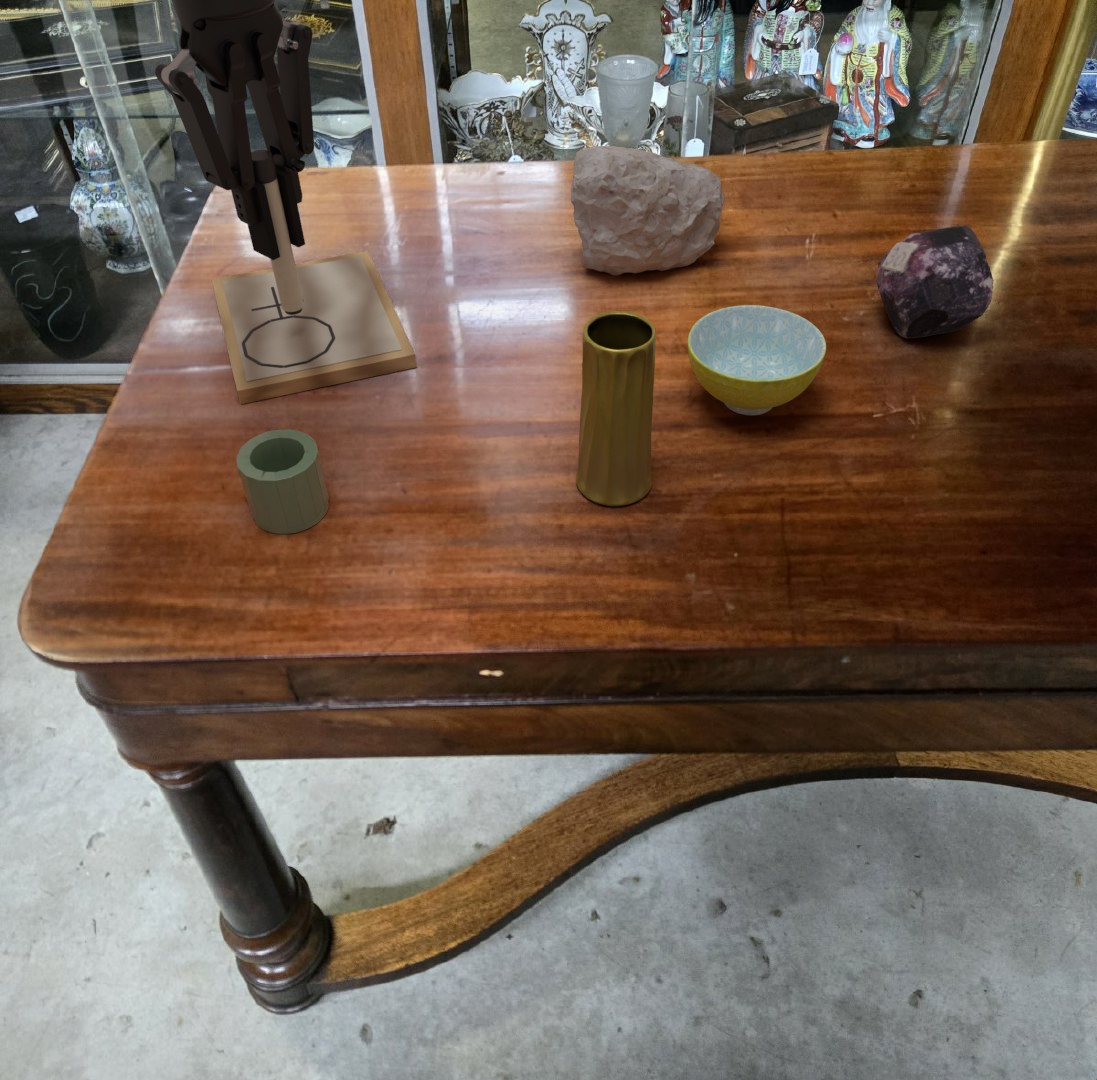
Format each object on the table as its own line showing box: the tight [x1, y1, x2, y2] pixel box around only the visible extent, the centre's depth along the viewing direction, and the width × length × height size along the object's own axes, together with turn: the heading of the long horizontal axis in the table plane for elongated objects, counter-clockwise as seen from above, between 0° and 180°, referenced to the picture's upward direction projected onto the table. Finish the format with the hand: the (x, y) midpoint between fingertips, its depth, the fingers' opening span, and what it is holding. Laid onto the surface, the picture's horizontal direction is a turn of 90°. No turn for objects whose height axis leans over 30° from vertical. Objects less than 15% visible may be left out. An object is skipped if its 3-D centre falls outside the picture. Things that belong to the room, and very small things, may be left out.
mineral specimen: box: [875, 224, 995, 339], centre depth 96 cm, size 10×10×10 cm
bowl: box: [687, 304, 827, 416], centre depth 89 cm, size 11×12×6 cm
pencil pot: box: [235, 429, 330, 535], centre depth 80 cm, size 6×6×6 cm
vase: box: [575, 310, 657, 507], centre depth 78 cm, size 6×6×14 cm
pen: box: [251, 149, 304, 315], centre depth 90 cm, size 2×2×15 cm
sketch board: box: [211, 250, 418, 405], centre depth 99 cm, size 16×20×2 cm
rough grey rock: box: [570, 145, 725, 276], centre depth 103 cm, size 16×9×15 cm, turn 108°
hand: (279, 246), depth 90 cm, fingers closed on pen, 2 cm apart
